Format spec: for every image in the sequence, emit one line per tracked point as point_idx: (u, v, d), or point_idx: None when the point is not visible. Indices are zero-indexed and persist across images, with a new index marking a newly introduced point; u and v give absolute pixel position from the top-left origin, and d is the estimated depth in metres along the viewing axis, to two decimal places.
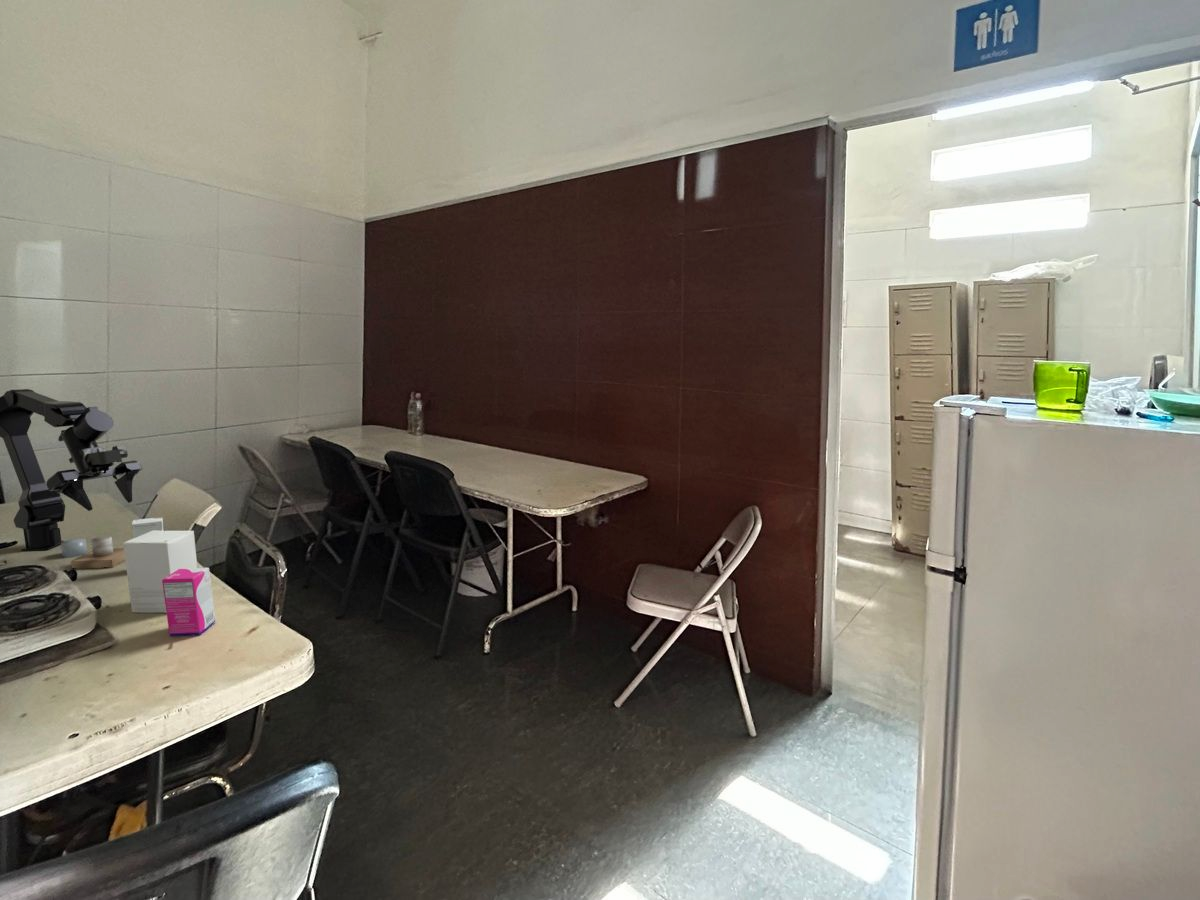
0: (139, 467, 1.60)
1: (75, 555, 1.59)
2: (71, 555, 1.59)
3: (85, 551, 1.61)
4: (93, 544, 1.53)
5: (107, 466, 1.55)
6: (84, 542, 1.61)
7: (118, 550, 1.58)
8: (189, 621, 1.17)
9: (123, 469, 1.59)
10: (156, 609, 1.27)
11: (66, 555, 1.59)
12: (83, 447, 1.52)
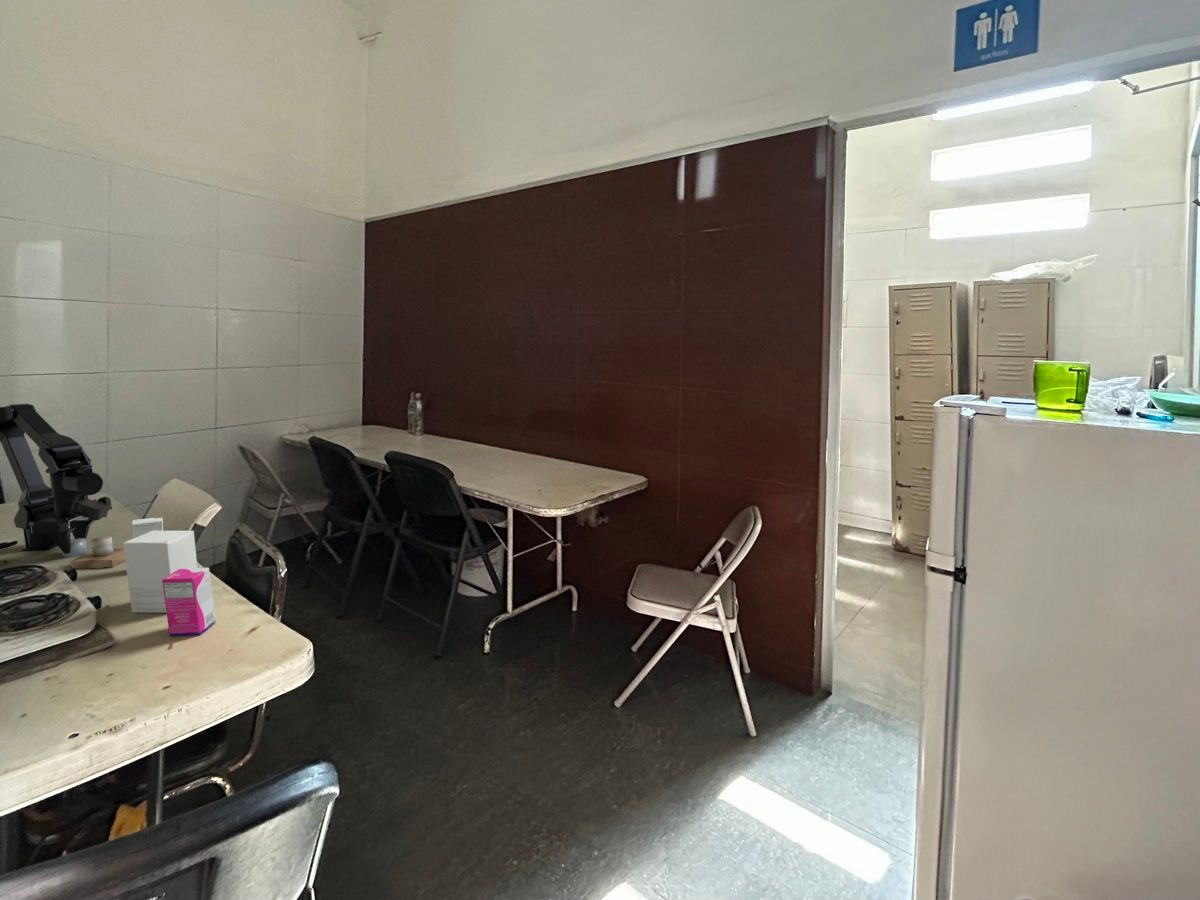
0: None
1: (75, 555, 1.59)
2: (71, 555, 1.59)
3: (85, 551, 1.61)
4: (93, 544, 1.53)
5: None
6: (84, 542, 1.61)
7: (118, 550, 1.58)
8: (189, 621, 1.17)
9: None
10: (156, 609, 1.27)
11: (66, 555, 1.59)
12: (73, 494, 1.57)
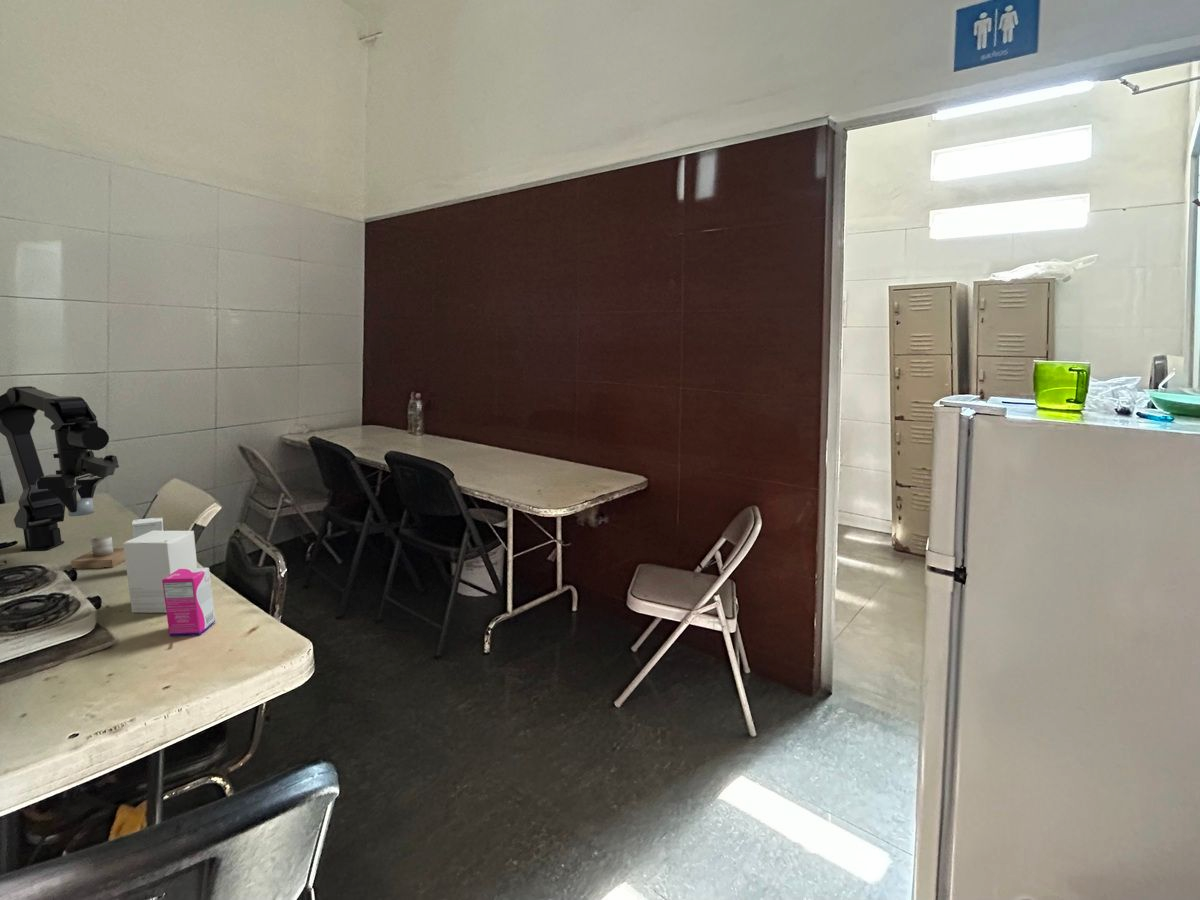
0: None
1: (82, 513, 1.55)
2: (77, 513, 1.55)
3: (92, 510, 1.57)
4: (93, 544, 1.53)
5: None
6: (91, 501, 1.57)
7: (118, 550, 1.58)
8: (189, 621, 1.17)
9: None
10: (156, 609, 1.27)
11: (72, 513, 1.54)
12: (79, 450, 1.53)
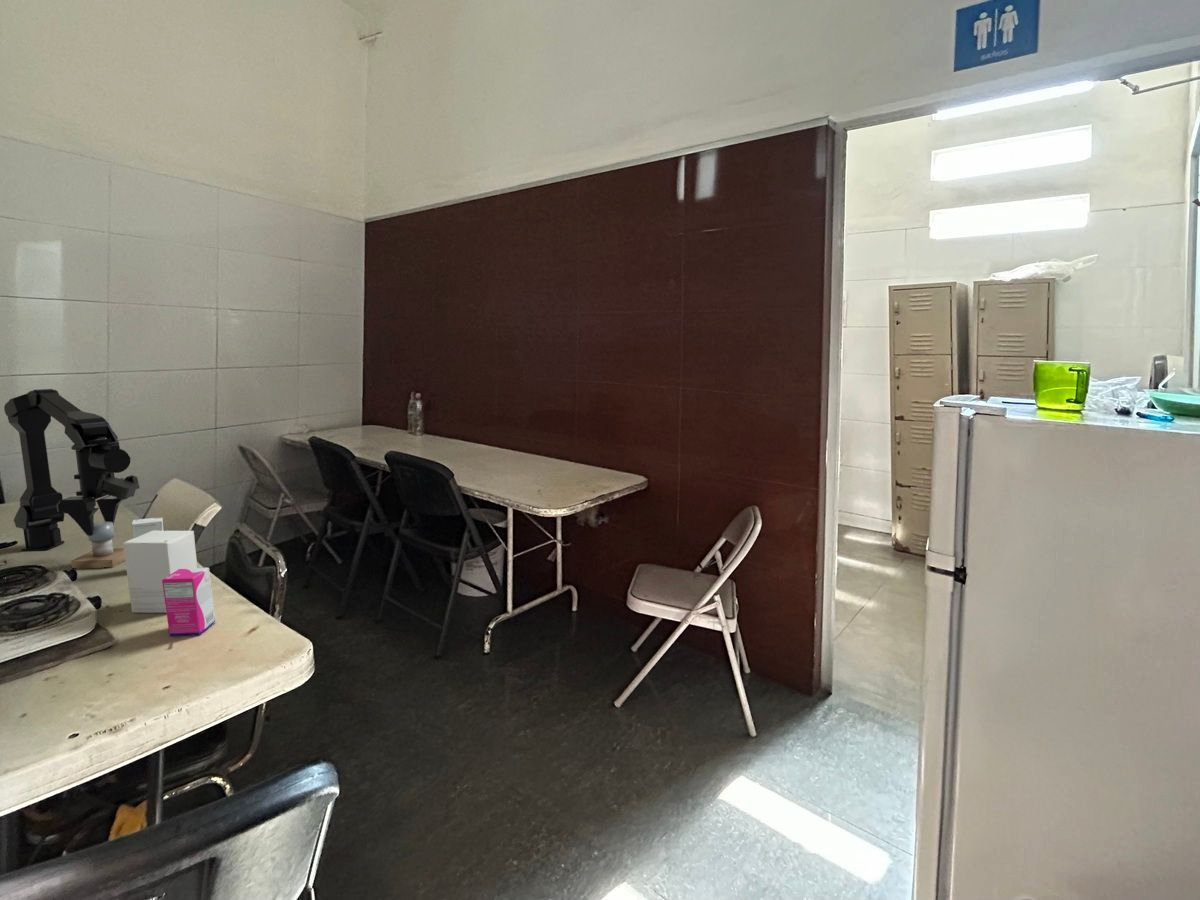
0: None
1: (102, 538, 1.53)
2: (98, 538, 1.52)
3: (112, 535, 1.55)
4: (93, 544, 1.53)
5: None
6: (111, 525, 1.55)
7: (118, 550, 1.58)
8: (189, 621, 1.17)
9: None
10: (156, 609, 1.27)
11: (93, 538, 1.52)
12: (100, 471, 1.51)
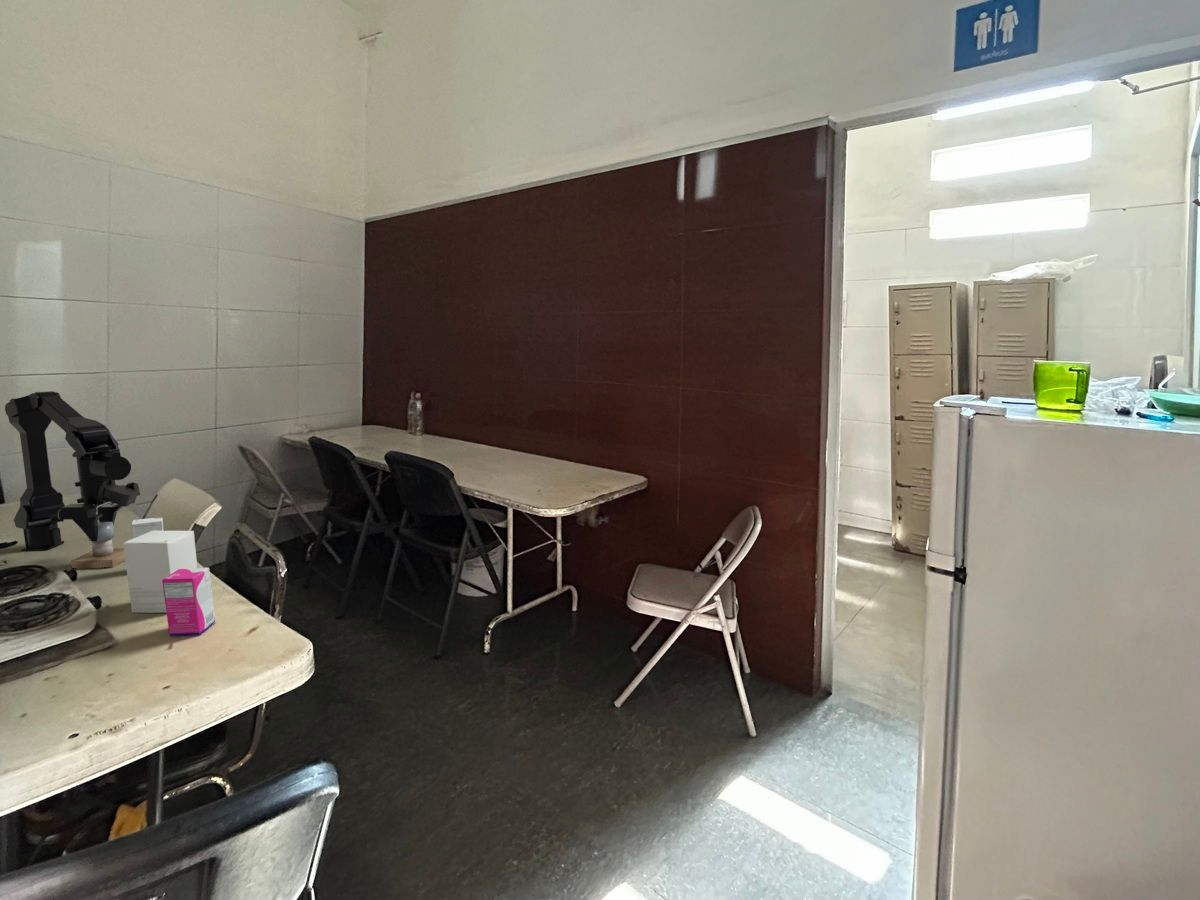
0: None
1: (102, 538, 1.53)
2: (98, 538, 1.52)
3: (112, 535, 1.55)
4: (93, 544, 1.53)
5: None
6: (111, 525, 1.55)
7: (118, 550, 1.58)
8: (189, 621, 1.17)
9: None
10: (156, 609, 1.27)
11: None
12: (101, 479, 1.51)
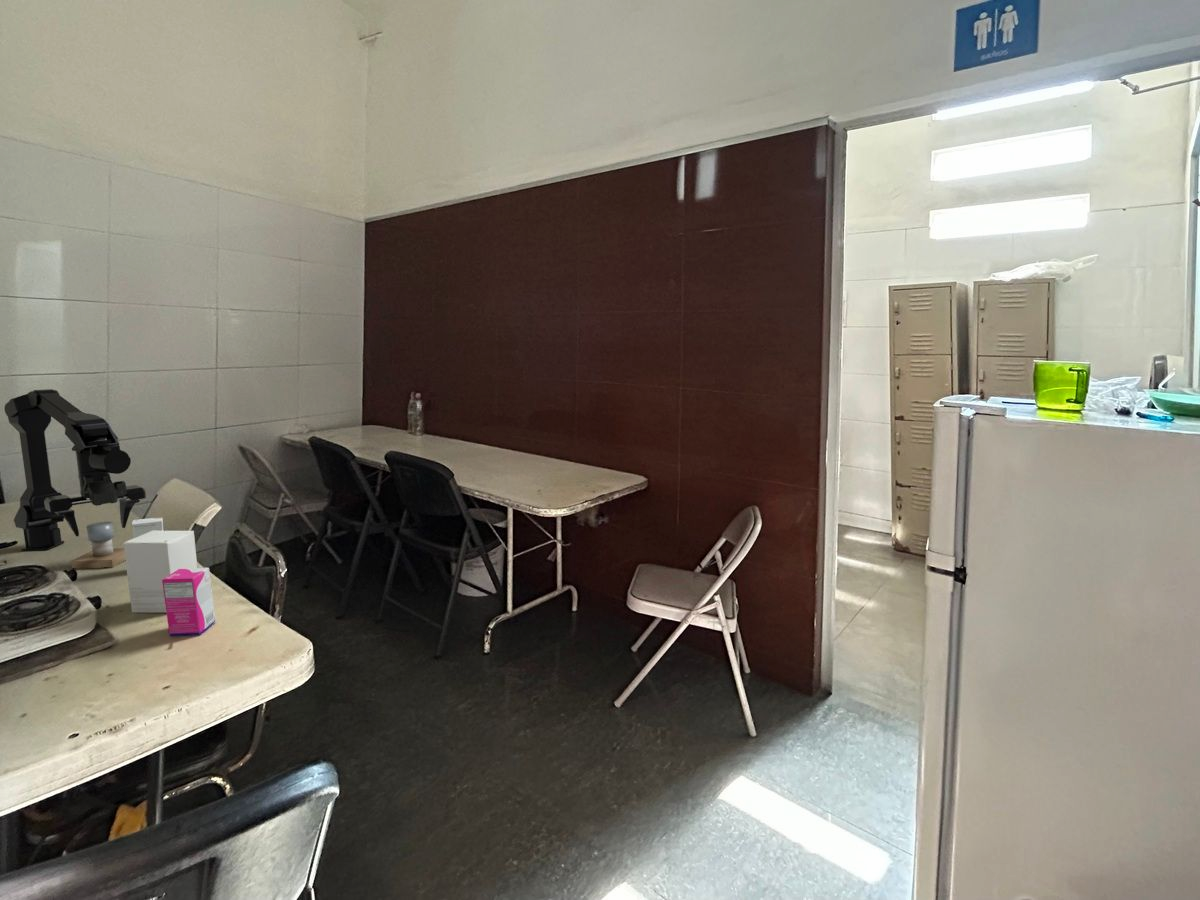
0: (142, 497, 1.58)
1: (90, 539, 1.52)
2: (88, 538, 1.53)
3: (101, 537, 1.53)
4: (93, 544, 1.53)
5: None
6: (100, 528, 1.52)
7: (118, 550, 1.58)
8: (189, 621, 1.17)
9: None
10: (156, 609, 1.27)
11: None
12: (88, 474, 1.49)
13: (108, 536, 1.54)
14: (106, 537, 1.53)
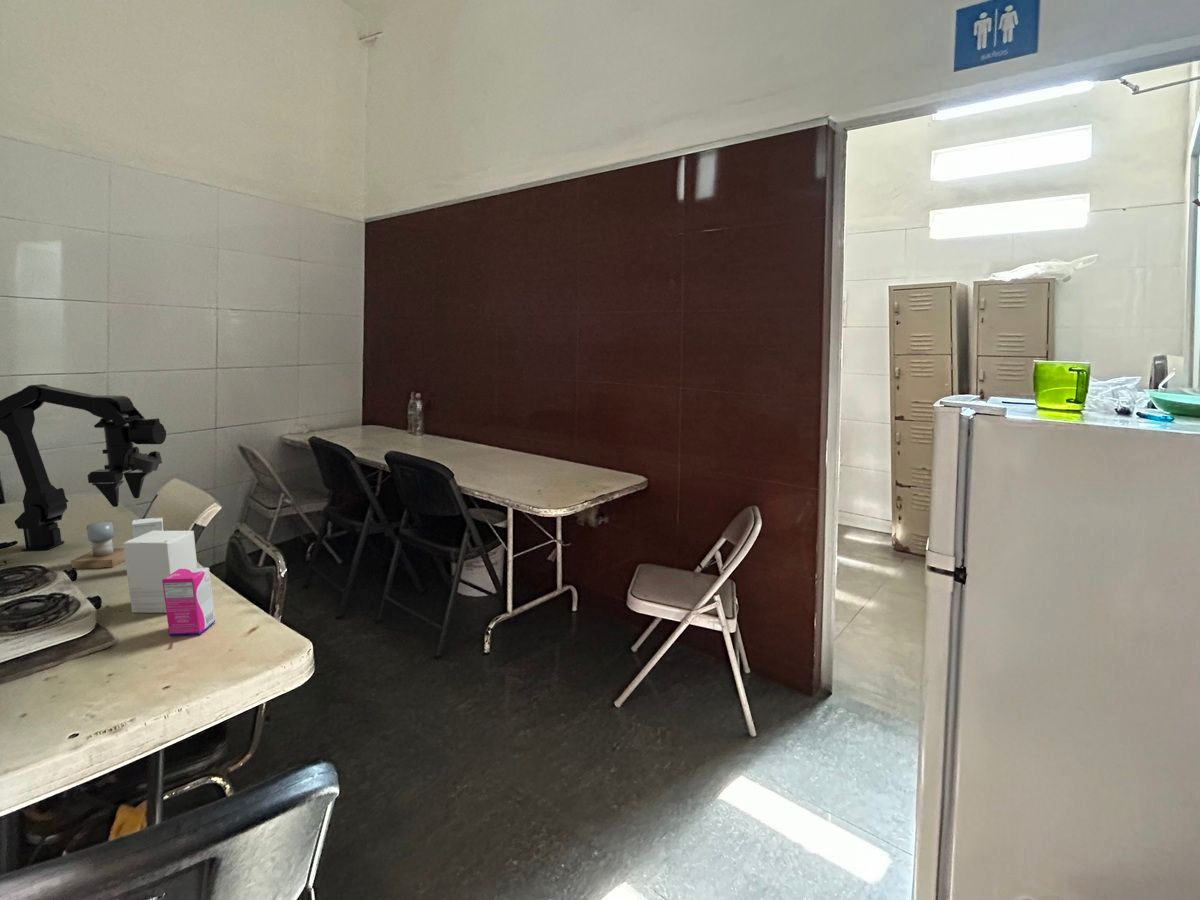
0: None
1: (90, 539, 1.52)
2: (88, 538, 1.53)
3: (101, 537, 1.53)
4: (93, 544, 1.53)
5: None
6: (100, 528, 1.52)
7: (118, 550, 1.58)
8: (189, 621, 1.17)
9: None
10: (156, 609, 1.27)
11: None
12: (126, 446, 1.63)
13: (108, 536, 1.54)
14: (106, 537, 1.53)
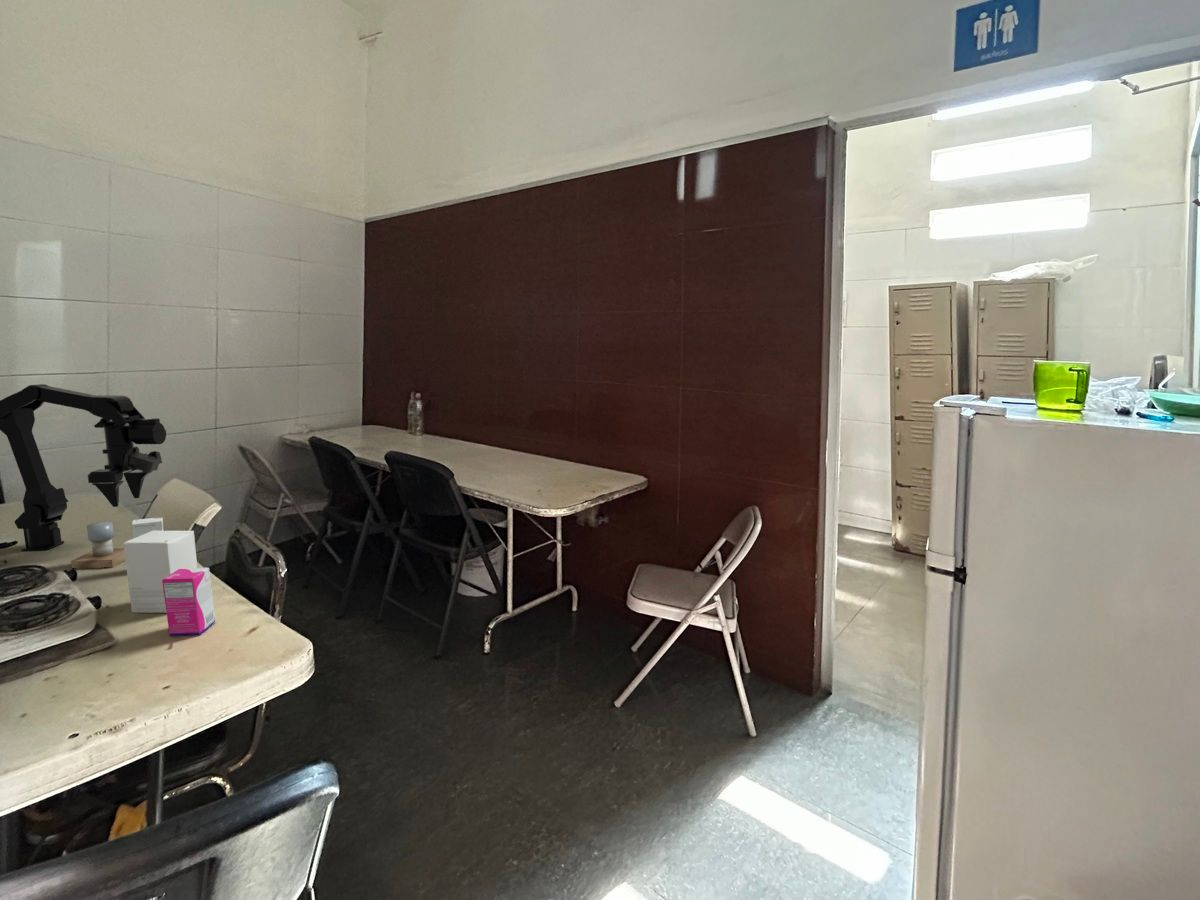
0: None
1: (90, 539, 1.52)
2: (88, 538, 1.53)
3: (101, 537, 1.53)
4: (93, 544, 1.53)
5: None
6: (100, 528, 1.52)
7: (118, 550, 1.58)
8: (189, 621, 1.17)
9: None
10: (156, 609, 1.27)
11: None
12: (126, 446, 1.63)
13: (108, 536, 1.54)
14: (106, 537, 1.53)
